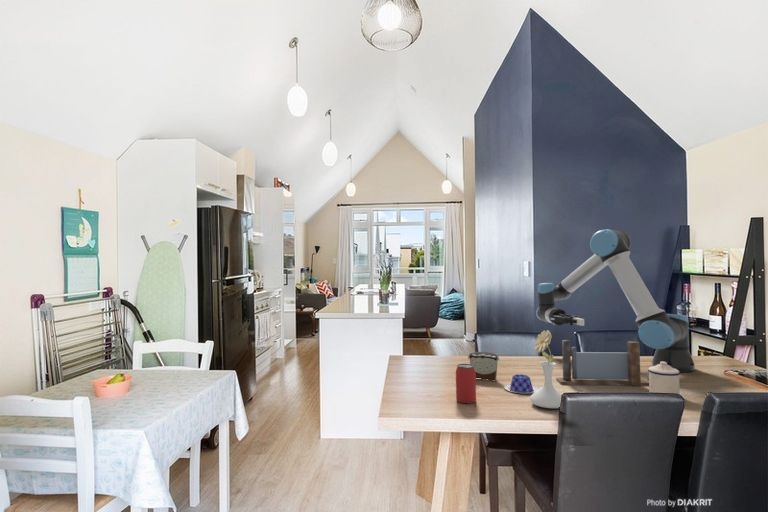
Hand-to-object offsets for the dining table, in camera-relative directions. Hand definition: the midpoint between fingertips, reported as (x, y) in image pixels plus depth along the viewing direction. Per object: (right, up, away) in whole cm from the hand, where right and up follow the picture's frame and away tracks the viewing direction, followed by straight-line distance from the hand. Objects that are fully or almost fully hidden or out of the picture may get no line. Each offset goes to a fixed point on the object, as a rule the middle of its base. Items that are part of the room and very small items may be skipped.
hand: (582, 322), depth 179 cm
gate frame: (-1, -20, -17) cm, 27 cm away
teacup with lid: (+12, -20, -33) cm, 40 cm away
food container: (-43, -21, -8) cm, 49 cm away
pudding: (-34, -21, -24) cm, 46 cm away
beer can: (-56, -21, -35) cm, 70 cm away
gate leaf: (-1, -19, -17) cm, 26 cm away
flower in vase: (-31, -21, -42) cm, 56 cm away
